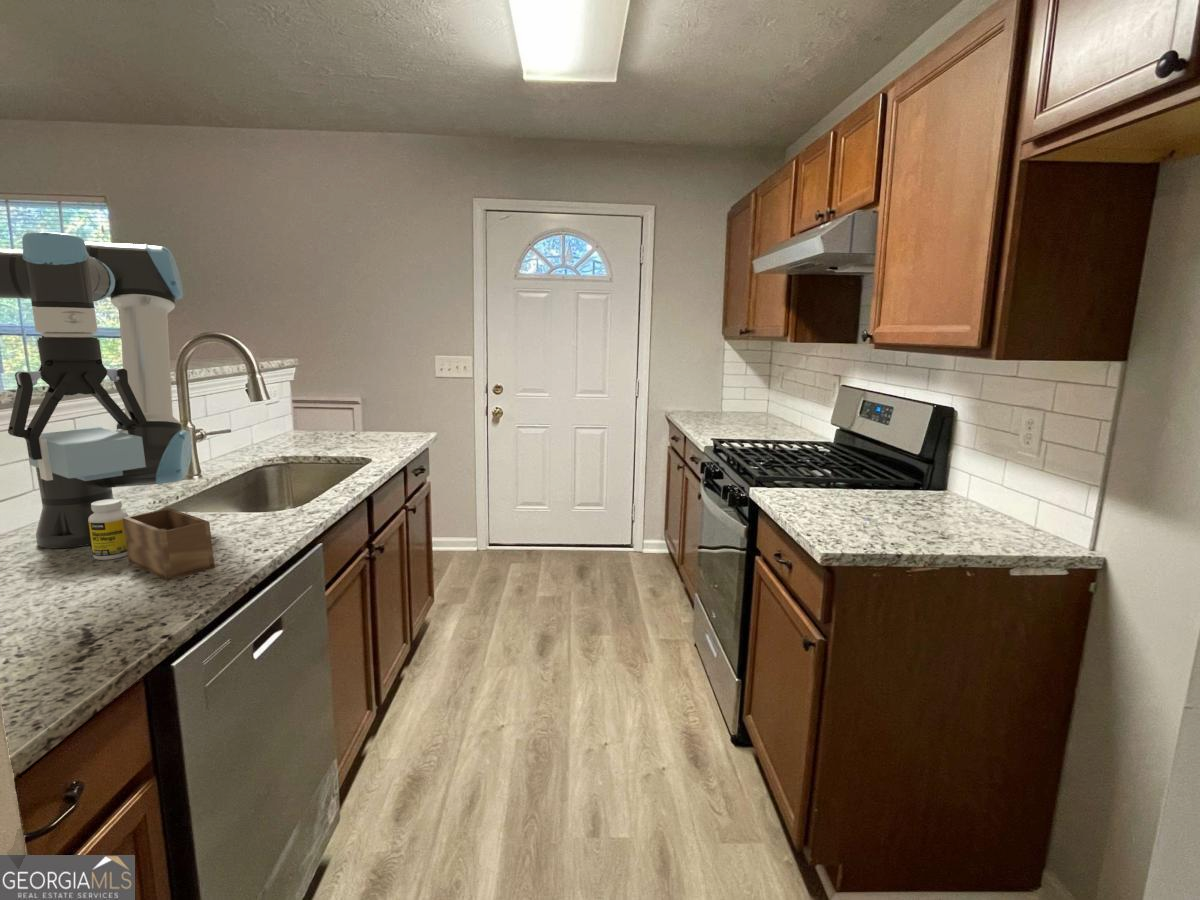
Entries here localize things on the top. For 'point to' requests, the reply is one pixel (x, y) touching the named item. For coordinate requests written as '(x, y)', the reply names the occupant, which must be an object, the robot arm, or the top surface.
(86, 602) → the top surface
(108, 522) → the pill bottle
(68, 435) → the light blue block
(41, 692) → the top surface
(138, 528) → the box
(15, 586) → the top surface
